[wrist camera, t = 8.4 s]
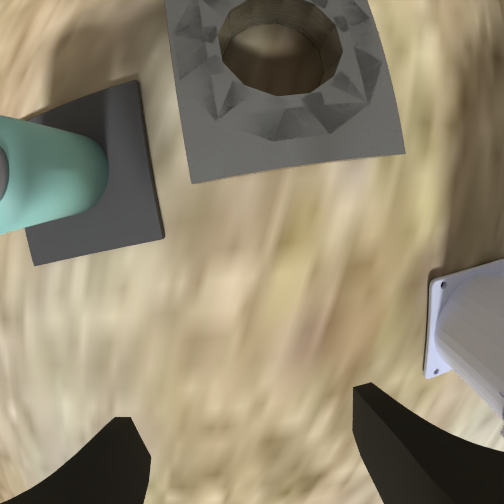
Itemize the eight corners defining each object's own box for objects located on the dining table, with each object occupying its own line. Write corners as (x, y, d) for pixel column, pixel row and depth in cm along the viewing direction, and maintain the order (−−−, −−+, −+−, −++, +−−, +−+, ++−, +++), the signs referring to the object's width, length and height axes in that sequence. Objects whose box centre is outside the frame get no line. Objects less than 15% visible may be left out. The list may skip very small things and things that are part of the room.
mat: (139, 82, 15) (136, 79, 15) (165, 237, 17) (162, 239, 17) (16, 129, 15) (11, 128, 15) (38, 263, 17) (34, 266, 17)
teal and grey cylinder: (105, 126, 15) (22, 96, 8) (113, 206, 16) (32, 227, 9) (40, 146, 15) (-53, 136, 8) (48, 220, 16) (-43, 246, 8)
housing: (332, -18, 14) (348, -46, 11) (376, 157, 17) (405, 153, 14) (172, -3, 14) (161, -33, 11) (200, 183, 17) (191, 184, 13)
